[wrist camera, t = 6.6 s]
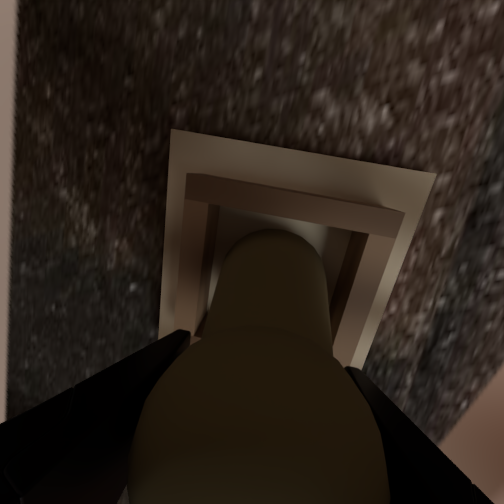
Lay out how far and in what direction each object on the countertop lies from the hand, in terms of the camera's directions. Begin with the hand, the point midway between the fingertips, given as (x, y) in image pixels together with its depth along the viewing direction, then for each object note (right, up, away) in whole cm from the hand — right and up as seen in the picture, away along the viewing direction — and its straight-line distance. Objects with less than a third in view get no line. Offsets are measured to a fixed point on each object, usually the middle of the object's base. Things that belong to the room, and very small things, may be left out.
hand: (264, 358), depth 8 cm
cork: (+1, +2, +6) cm, 7 cm away
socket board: (+1, +3, +8) cm, 8 cm away
